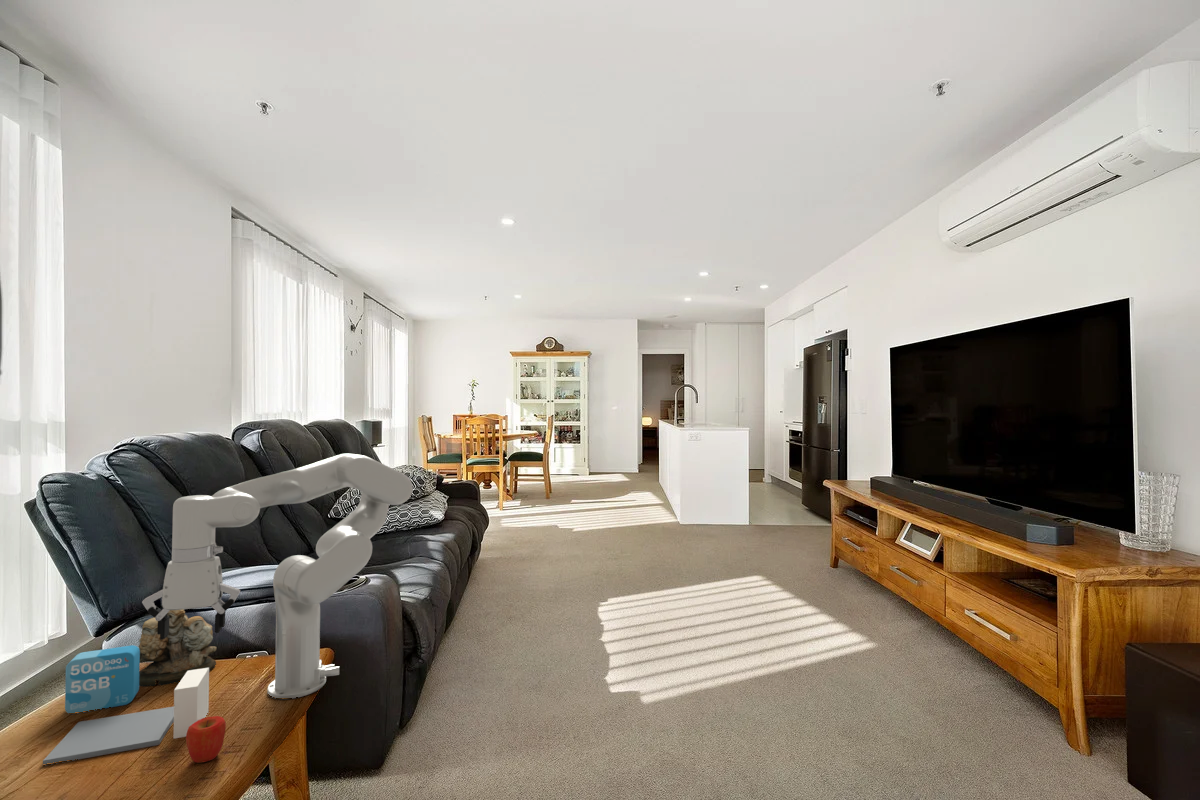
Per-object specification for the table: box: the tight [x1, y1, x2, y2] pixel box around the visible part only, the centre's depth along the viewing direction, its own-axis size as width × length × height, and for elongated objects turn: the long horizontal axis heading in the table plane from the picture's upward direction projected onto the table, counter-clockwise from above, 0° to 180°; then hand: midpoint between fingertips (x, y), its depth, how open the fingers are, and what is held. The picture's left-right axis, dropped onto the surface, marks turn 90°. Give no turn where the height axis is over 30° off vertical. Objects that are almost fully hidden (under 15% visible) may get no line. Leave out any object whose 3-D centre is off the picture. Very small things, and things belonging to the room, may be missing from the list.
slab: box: [173, 668, 210, 739], centre depth 120 cm, size 4×9×10 cm, turn 22°
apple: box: [185, 715, 227, 764], centre depth 108 cm, size 6×6×8 cm
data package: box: [64, 644, 140, 714], centre depth 128 cm, size 12×4×12 cm, turn 116°
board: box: [42, 705, 174, 765], centre depth 116 cm, size 18×14×1 cm
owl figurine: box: [138, 609, 217, 687], centre depth 143 cm, size 18×12×17 cm, turn 124°
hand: (191, 633), depth 120 cm, fingers open, 9 cm apart
